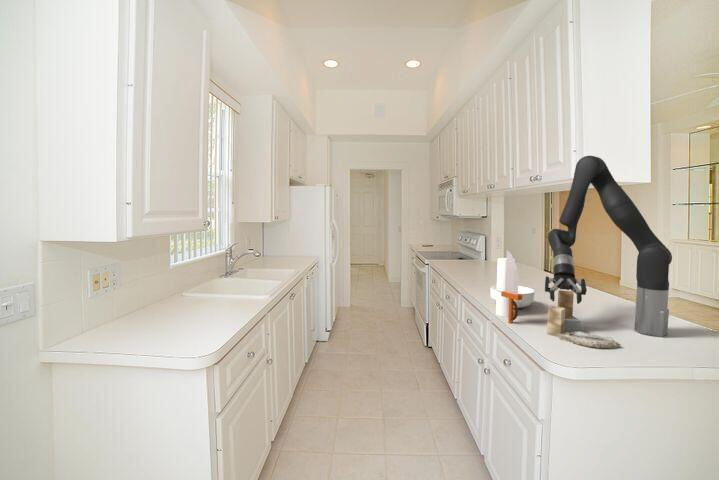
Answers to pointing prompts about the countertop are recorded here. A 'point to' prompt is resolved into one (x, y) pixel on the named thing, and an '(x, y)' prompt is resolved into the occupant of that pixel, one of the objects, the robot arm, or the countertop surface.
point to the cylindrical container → (501, 289)
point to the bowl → (524, 291)
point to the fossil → (589, 340)
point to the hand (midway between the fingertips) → (565, 301)
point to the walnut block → (566, 302)
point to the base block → (572, 325)
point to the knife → (511, 286)
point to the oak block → (555, 321)
